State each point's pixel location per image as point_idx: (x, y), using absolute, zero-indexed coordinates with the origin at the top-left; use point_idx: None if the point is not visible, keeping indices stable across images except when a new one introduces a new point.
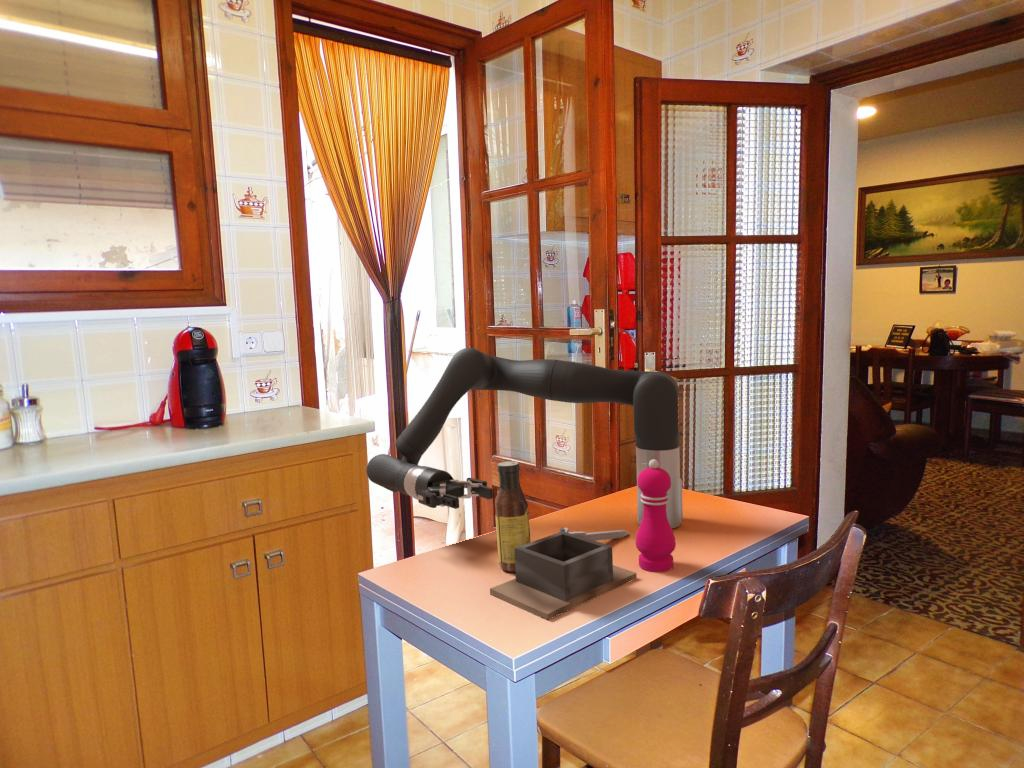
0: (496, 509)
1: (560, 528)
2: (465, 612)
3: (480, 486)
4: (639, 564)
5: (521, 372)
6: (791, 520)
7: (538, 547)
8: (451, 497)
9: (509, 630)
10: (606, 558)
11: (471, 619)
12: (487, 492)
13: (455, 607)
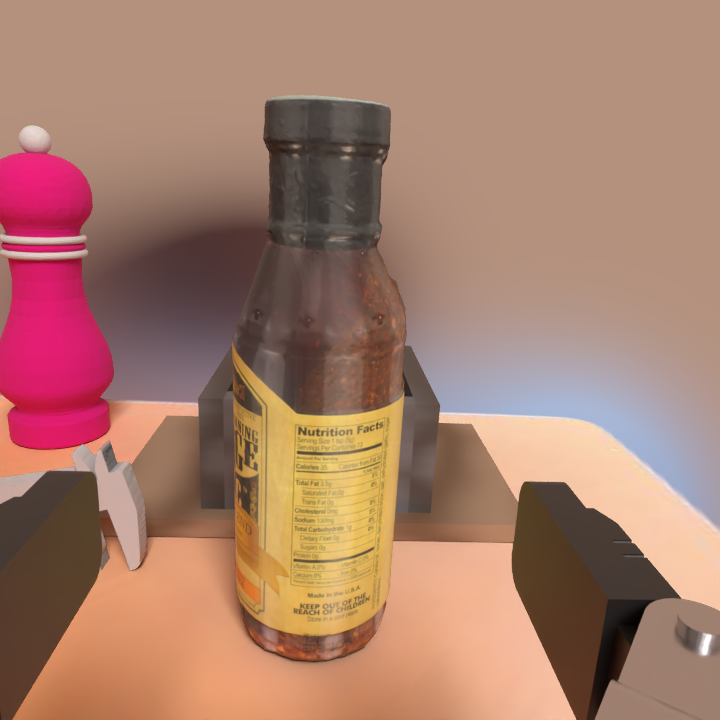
0: (400, 360)
1: (102, 451)
2: (640, 521)
3: (3, 563)
4: (88, 436)
5: None
6: None
7: None
8: (588, 519)
9: (562, 449)
10: None
11: (632, 499)
12: (78, 529)
13: (665, 549)
